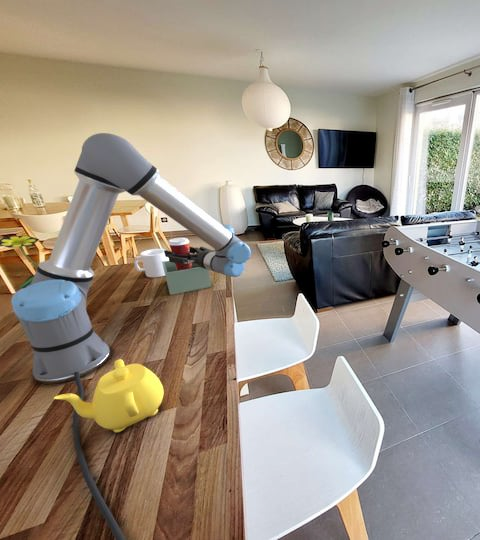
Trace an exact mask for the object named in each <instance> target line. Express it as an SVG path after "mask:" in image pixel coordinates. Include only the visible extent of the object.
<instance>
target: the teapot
mask: <svg viewBox="0 0 480 540" xmlns="http://www.w3.org/2000/svg"><path fill="white" fill-rule="evenodd" d="M113 364H114V366H113V367H114V369H112V370H111V371H109V372H107V373H105V374H103V375H102V376H101V377H100V378H99V380H98V381H97V384H96V387H95V390H94V394H93V397H92V401H90V402H89V401H84V400H83V401H82V400H81V399H80V397H79V396H78V395H77V394H75V393H69V392H68V393H63V394H58V395H56V396H54V397H53V399H54V400H62V401H65V402H68V403H69V404H71V406H72V407H73V409H74V410H75V411H76V412H77V413H78V414H79V417H82V418H85V419H94V421H95V422H96V424H97V425H98V426H100V427H101V428H102V429H103V428H104V429H107V430H111V431H113V432H114V433H120V432H122V431H124V430H125V429H126V428H127V427H130V426H132V425H135V424H137V423H139V422H141V421H143V420H145V419H146V418H150V417H154V416H155V415H157V413H158V412H159V407H160V406H161V404H162V402H163V399H164V394H165V391H164V387H163V383H162V382H161V380H160V378H159V377H158V376H157V375H156V374H155V373H154V372H153V371H152V370H150V369H149V368H147V367H146V366H144V365H142V364H140V363H130V364H127V365H125V361H124V360H123V359H121V358H118V359H116V360H115V361H114V363H113Z"/></svg>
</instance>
